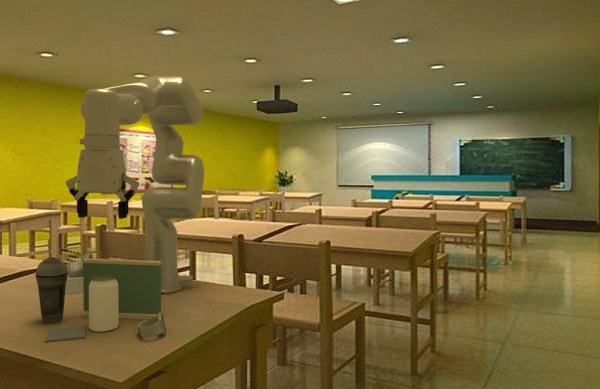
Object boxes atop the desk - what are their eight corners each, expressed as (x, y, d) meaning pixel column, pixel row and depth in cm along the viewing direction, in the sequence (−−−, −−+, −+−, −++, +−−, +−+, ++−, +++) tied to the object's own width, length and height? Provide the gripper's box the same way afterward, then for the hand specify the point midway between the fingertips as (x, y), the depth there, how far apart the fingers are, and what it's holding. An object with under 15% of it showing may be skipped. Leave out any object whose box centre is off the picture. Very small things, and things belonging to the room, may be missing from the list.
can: (90, 334, 114) (90, 282, 114) (87, 325, 120) (87, 276, 119) (120, 330, 117) (120, 279, 117) (116, 322, 123) (116, 274, 122)
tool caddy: (101, 272, 178) (101, 259, 178) (102, 291, 152) (102, 276, 152) (51, 275, 172) (51, 262, 172) (43, 295, 146) (43, 280, 146)
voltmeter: (111, 287, 158) (111, 255, 157) (76, 294, 149) (76, 260, 148) (69, 274, 174) (68, 246, 173) (35, 280, 165) (34, 250, 164)
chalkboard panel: (80, 316, 127) (80, 260, 126) (88, 311, 131) (88, 257, 130) (157, 320, 125) (157, 263, 124) (163, 315, 129) (163, 260, 128)
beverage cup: (46, 327, 119) (45, 243, 117) (29, 321, 122) (28, 240, 121) (75, 319, 125) (74, 239, 123) (57, 314, 129) (56, 236, 127)
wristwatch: (165, 340, 111) (165, 318, 111) (135, 342, 110) (135, 320, 110) (166, 327, 120) (166, 307, 120) (138, 329, 119) (138, 308, 118)
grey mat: (85, 327, 119) (85, 325, 119) (85, 338, 112) (85, 336, 112) (48, 330, 116) (48, 329, 116) (44, 342, 109) (44, 340, 109)
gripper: (57, 142, 113) (58, 218, 114) (131, 143, 112) (131, 220, 112) (75, 144, 121) (75, 215, 121) (145, 145, 119) (145, 217, 120)
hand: (102, 217), depth 117 cm, fingers open, 9 cm apart
